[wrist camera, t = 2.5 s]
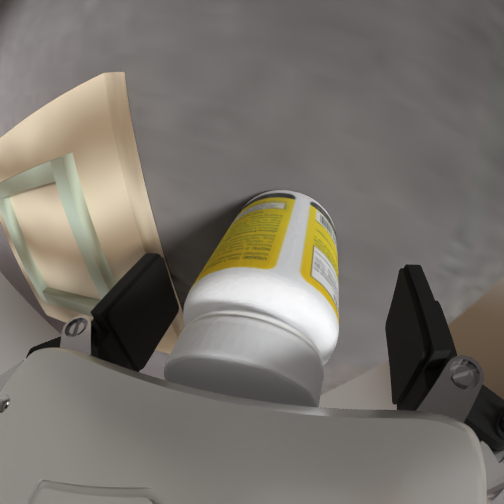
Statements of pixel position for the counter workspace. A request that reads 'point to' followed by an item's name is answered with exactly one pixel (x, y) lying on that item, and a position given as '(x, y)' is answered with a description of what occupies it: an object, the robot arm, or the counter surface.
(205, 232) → the counter surface
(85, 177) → the board
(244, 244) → the supplement bottle
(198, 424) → the robot arm
